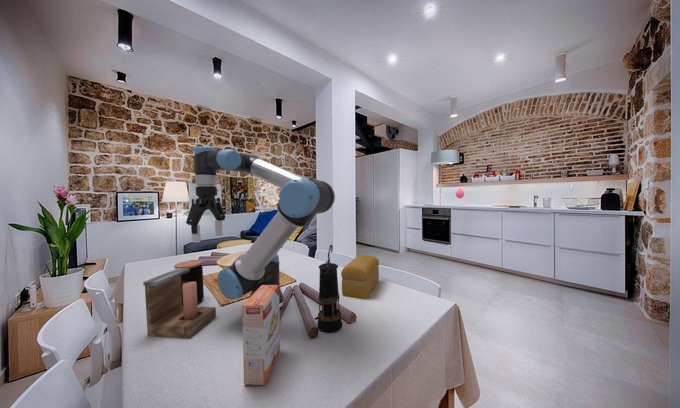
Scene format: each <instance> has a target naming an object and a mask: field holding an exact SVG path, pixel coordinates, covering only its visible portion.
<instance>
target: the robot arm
mask: <svg viewBox="0 0 680 408" xmlns="http://www.w3.org/2000/svg"><path fill="white" fill-rule="evenodd" d="M193 151H194V153H193V154H194V155H193V162H194V174H195V176H194V178H195V182H194V183H195V196H197V198H191V205H190V208H189V212H188V214H187V215H188V216H187V218H186V222H185V224H186V225H188V226H190V229H191V237H192V241H191V242H192V243H201V224H199V223H200V221H201V220H202V217H203V215H204V213H205V212H206V211H207V210H210V212H211V214H212V215H213V217H214V218H215V220H214V229H215V231H214V232H215V236H216V237H222V236H223V221H225V219H226V214H225V212H224V209H223V206H222V203H221V198H220V197H217V196H218V187H217V185H218V182H217V181H218V179H217V178H218V177H217V176H218V175H217V171H231V172H238V173H240V172H241V173H247V174H250V175H251V176H254V177H256V178H258V179H260V180H262V181H264V182H267V183H269V184H271V185H273V186H276V187H278V188H279V189H280V191H279V193H278V197H279V199H278V200H277V201H278V203H277V205H276V208H277V212H276V214H275V215H274V216H273V217H272V219H271V220H270V221H269V222H268V224H267V225H266V227H265V228H264V229H263V230H262V232H261V233H260V235H259V236H258V237H257V238H256V239H255V241H254V242H253V243H252V245H251V246H250V247H249V249H248V250H247V251H246V253H243V254H240V255H239V256H237V257H236V258H235V260H234V261H233V262H232V264H230V266H228V267H224V268H222V269H221V270H220V271H219V273H218V274H217V281H216V282H217V285H218V289H219V291H220V292H221V294H222V295H223V296H224V297H225V298H227V300H228V299H229V300H236V299H239V298H242V297H243V296H245V295H247V294H248V293H249V298H250V297H251V296H252V295H253V294H254V293H255V292H256V291H257V290H258V288H259V287H260V286H261V285H279V304H280V303H282V302H283V301H284V302H285V297H284V294H283V291H282V289H281V285H280V279H281V278H280V257H279V255H278V253H279V252H280V250H281V248H283V246H284V245H285V244H286V242H287V241H288V240H289V239H291V237H292V235H293V234H294V233H295V232H296V231H297V230H298V229H299V228H304V227H306V226H307V225H308V224H309V222H311V220H312V219H313V218H314V217H315V215H318V214H323V213H325V212H328V211H329V210H330V209H332V207H333V205H334V203H335V198H336V196H335V195H336V194H335V191H334V188H333V187H332V186H331V185H330V184H329V183H328V182H326V181H324V180H318V179H315V178H313V177H307V178H306V177H304V176H301V175H300V174H297V173H295V172H292V171H290V170H287V169H285V168H282V167H281V166H278V165H275V164H273V163H270V162H268V161H267V160H266V161H265V160H263V159H262V158H261V157H259V156H257V155H255V154H245V153H240V152H238V151H236V150H235V149H232V148H231V149H229V148H225V149H220V150H216V149H215V148H214V147H212V146H205V145H202V146H201V145H200V146H199V145H197V146H195V147H194V150H193ZM249 298H248V299H249Z"/></svg>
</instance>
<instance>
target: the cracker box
mask: <svg viewBox="0 0 680 408" xmlns="http://www.w3.org/2000/svg"><path fill="white" fill-rule="evenodd" d="M249 297H250V296H249ZM241 310H242V312H241V313H242V350H243V351H242V353H243V354H242V355H243V385H244V384H252V385H251V386H266V384H267V381H268V379H269V376H270V375H271V372H272V370H273V368H274V365H275V363H276V362H277V359H278V356H279V354H280V351H281V330H280V329H281V324H280V323H281V321H280V317H281V315H280V309H279V285H261V286H260V287H259V288H258V290H257V291H256V292H255V293H254V294H253V295H252V296H251V297H250V298H248V299H247V300H246V301H245V302H244V303H242V309H241Z"/></svg>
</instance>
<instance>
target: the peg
mask: <svg viewBox="0 0 680 408" xmlns="http://www.w3.org/2000/svg"><path fill="white" fill-rule="evenodd" d="M182 287H183V309H184V320H194V319H195V318H196V317H198V307H199V306H198V305H199V304H197V282H187V283H184V284H183V285H182Z"/></svg>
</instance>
